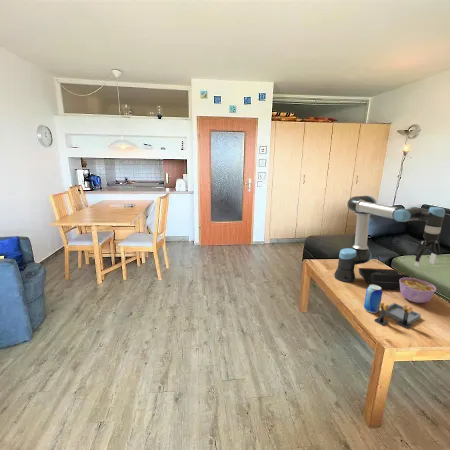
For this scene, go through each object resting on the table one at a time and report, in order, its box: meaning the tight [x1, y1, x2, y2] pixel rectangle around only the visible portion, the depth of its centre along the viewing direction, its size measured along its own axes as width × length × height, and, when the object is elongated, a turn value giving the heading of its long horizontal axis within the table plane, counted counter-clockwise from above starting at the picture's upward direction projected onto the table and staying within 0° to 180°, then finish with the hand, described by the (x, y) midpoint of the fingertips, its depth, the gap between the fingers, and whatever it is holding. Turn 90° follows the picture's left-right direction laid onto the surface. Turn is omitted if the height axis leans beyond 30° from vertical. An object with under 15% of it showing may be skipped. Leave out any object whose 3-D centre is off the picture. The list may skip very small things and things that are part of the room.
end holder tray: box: [384, 302, 422, 324], centre depth 154 cm, size 15×15×2 cm
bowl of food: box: [399, 277, 437, 304], centre depth 171 cm, size 20×20×12 cm
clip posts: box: [374, 302, 413, 330], centre depth 145 cm, size 13×14×11 cm
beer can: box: [363, 284, 383, 314], centre depth 158 cm, size 8×8×16 cm
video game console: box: [358, 267, 411, 290], centre depth 197 cm, size 28×25×10 cm
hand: (424, 264), depth 161 cm, fingers open, 13 cm apart
